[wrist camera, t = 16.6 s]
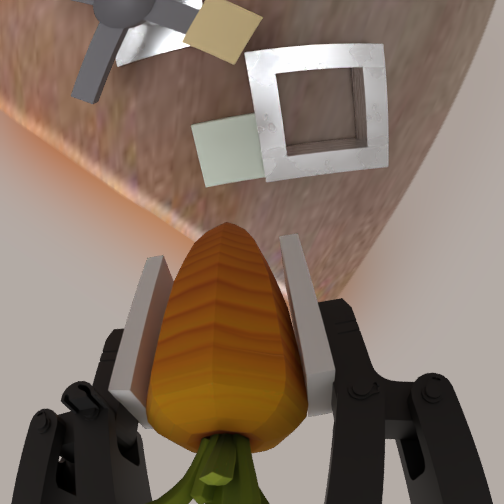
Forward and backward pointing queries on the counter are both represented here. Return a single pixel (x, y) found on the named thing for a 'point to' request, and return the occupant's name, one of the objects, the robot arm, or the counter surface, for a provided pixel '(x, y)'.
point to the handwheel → (170, 16)
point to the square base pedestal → (151, 39)
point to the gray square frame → (324, 152)
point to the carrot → (225, 369)
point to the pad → (228, 149)
